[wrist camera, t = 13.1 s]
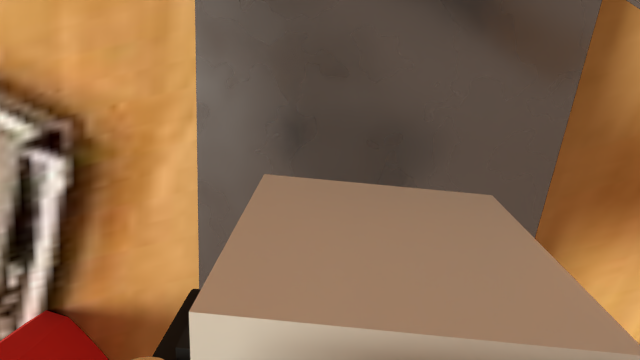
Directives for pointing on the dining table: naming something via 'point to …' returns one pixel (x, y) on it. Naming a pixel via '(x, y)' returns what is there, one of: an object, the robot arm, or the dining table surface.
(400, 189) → the cover cap
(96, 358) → the french fries
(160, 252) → the dining table surface
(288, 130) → the base plate
